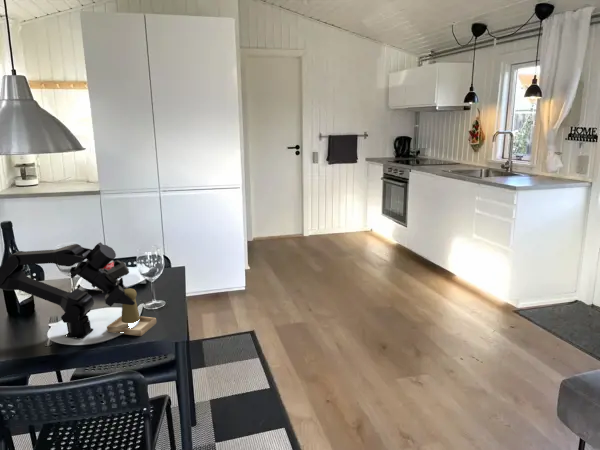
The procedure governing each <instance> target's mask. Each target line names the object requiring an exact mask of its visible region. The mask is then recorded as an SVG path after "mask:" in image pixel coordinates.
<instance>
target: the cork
mask: <svg viewBox="0 0 600 450" xmlns="http://www.w3.org/2000/svg"><path fill="white" fill-rule="evenodd" d="M124 291H125V293H126V294H127V295H128V296H129V297H130V298H131V299H132V300H133V301H134V302H135V304H134V305H127V304H121V316H122V322H123V323H134V322H136V321H138V320H139V319H140V312H139V308H138V304H137V300H136V298H137V294H138V293H137V290H135V289H134V288H127V289H124Z"/></svg>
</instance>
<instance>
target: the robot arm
mask: <svg viewBox="0 0 600 450" xmlns="http://www.w3.org/2000/svg"><path fill="white" fill-rule="evenodd" d="M116 256H117V254H116V251H115V250H114V249H113V247H111V246H109V245H106V244H103V243H102V242H98V243H96V245H94V247H93V248H87V247H83V246H81V244H77V243H73V244H70V245H67V246H63V247H60V248H56V249H44V250H28V251H24V250H19V251H16V252H15V253H12V254H11V255H9V257H8V258H7V259H6V261H5V262H4V263H3V264H2V265H1V266H0V290H4V291H21V292H23V293H26V294H28V295H31V296H34V297H36V298H38V299H42V300H44V301H47V302H49V303H52V304H54V305H57V306H59V307H60V308H61V309H62V310H63V312H64V313H63V314H62V315H61V317H60V318H61V320H62V322H63V323H64V324H65V323H66V328H67V333H66V334H65V335H64V337H65V336H66V335H67V337H66V338H70V339H76V340H77V339H79V340H81V339H83V338H85V337H86V336H87V335H90V333H92V332H93V331H94V328H91V321H90V319H89V315H88V313H90V312H91V310H92V308H93V307H94V305H95V300H94V298H93V296H92V295H91V294H89V292H88V291H84V290H81V289H79V288H75V289H74V290H72V291H66V290H63V289H61V288H58V287H56V286H53V285H49V284H47V283H44V282H42V281H40V280H37V279H34V278H32V277H29V276H27V274H26V273H25V272H24V271H23V270H24V268H25V266H26V265H27V266H28V265H44V264H55V265H57V266H60V267H70V270H69V272H70V278H71V279H74V278H75V277H76V276H79V278H81V279H84V280H85V281H86V282H88V283H90V284H91V287H92V288H93V289H95V288H97V289H98V290H100V291H102V292H101V293H102V294H103V295H104V302H105V304H106V305H107V306H109V307H112V306H113V305H114V304H120V305H122V304H127V305H134V304H135V302H134V301H133V300H132V299H131V298H130V297H129V296H128V295H127V294H126V293H125V291H124V289H128V288H127V287H126V286H125V285H124V278H123V277H124V276H127V275H129V273H130V271H129V270H130V269H129V268H128V266H127V265H126V263H125V262H124V261H120V260H119V259H116V260H115V261H114V259H115V258H116ZM112 260H113V262H114V267H112V268H111V269H110V270H107V269H106V268H105V269H104V267H105V266H106V265H107V264H108V263H110V262H111V261H112ZM76 264H77V265H76ZM74 265H76V266H74ZM102 268H103V269H102Z"/></svg>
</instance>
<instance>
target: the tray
mask: <svg viewBox="0 0 600 450" xmlns="http://www.w3.org/2000/svg"><path fill="white" fill-rule="evenodd" d="M139 316H140V315H139ZM156 325H157V318H156V317H149V316H142V315H141V316H140V321H139V324H138V325H137V326H136V327H134V328H131V329H130V328H128V327H129V326H128V323H123V322H122V315H121V316H119V317H118V318H116V319H115V320H114V321H113V322H111V323H110V324H108V325H107V326H106V331H107V333H112V334H113V333H114V334H120V332H124V334H123V335H128V336H137V337H143V335H145V334H146V333H147V332H148V331H150V329H152V328H153V327H154V326H156Z"/></svg>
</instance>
